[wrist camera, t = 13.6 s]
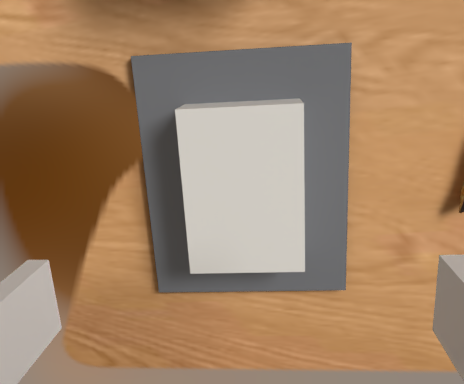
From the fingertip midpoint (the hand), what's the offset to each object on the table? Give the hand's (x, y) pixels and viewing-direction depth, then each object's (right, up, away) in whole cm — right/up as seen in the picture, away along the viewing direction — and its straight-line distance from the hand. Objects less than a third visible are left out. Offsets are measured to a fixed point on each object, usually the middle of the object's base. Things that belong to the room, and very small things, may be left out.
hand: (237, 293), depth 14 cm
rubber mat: (+1, +4, +14) cm, 14 cm away
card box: (+1, +4, +13) cm, 14 cm away
